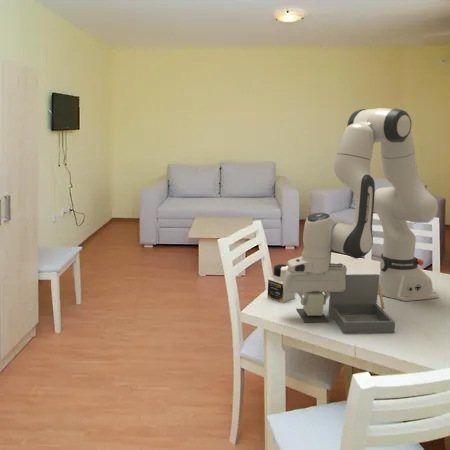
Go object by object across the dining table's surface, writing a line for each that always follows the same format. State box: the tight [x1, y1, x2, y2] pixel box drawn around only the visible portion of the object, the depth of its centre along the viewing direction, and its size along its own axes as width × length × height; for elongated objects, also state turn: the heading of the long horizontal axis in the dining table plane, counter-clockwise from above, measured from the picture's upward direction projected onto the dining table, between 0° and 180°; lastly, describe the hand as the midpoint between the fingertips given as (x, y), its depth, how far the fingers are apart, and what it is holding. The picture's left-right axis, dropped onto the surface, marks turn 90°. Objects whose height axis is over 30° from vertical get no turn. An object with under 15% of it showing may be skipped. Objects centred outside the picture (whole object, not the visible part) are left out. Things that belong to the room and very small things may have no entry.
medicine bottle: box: [267, 263, 296, 303], centre depth 184 cm, size 7×7×12 cm
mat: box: [296, 308, 330, 324], centre depth 170 cm, size 8×11×1 cm
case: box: [327, 273, 396, 335], centre depth 164 cm, size 17×16×14 cm
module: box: [302, 291, 325, 316], centre depth 168 cm, size 5×6×8 cm
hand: (313, 304), depth 169 cm, fingers closed on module, 5 cm apart
